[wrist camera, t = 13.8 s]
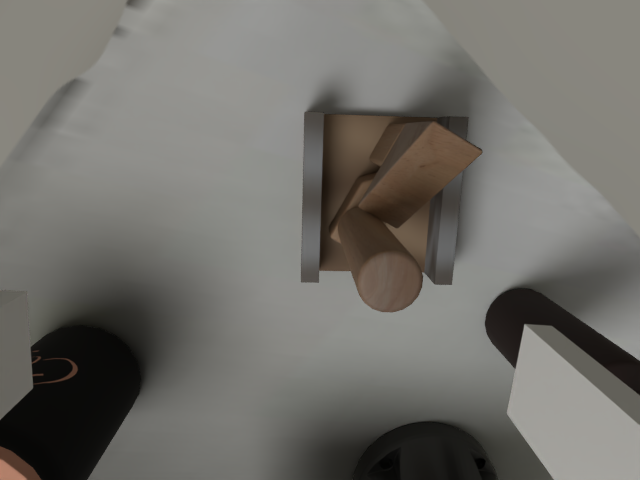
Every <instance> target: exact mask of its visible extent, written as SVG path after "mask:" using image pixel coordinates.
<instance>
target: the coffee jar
mask: <svg viewBox="0 0 640 480" xmlns="http://www.w3.org/2000/svg"><path fill="white" fill-rule="evenodd" d="M31 362H32V378H33V389H32V390H31V391H30V392H28V393H27V394H26V395H25V396H24V397H23V398H22V399H21V400H20V401H19V402H18V403H17V404H16V405H15V406H14V407H13V408H12V409H11V410H10V411H9V412H8V413H7V414H6V415H5V416H4V417H3V418H2V419H1V420H0V480H87V479H88V478H89V476H90V474H91V473H92V471H93V469H94V468H95V466H96V465H97V463H98V461H99V460H100V458H101V456H102V455H103V453H104V452H105V450H106V448H107V447H108V445H109V443H110V442H111V440H112V439H113V437H114V435H115V434H116V432H117V430H118V429H119V427H120V426H121V424H122V422H123V421H124V419H125V417H126V416H127V414H128V413H129V411H130V409H131V408H132V406H133V404H134V402H135V400H136V398H137V397H138V395H139V389H140V381H141V376H140V372H139V367H138V363H137V360H136V359H135V357H134V355H133V354H132V352H131V350H130V349H129V347H128V346H127V345H126V344H125V343H123V342H122V341H121V340H120V339H119V338H118V337H117V336H115V335H113V334H111V333H109V332H107V331H105V330H102V329H100V328H95V327H89V326H83V325H81V326H72V327H64V328H60V329H58V330H56V331H54V332H51V333H49V334H47V335H45V336H44V337H43V338H42V339H40V340H39V341H38V342H37V343H35V344H34V345H33V346H32V347H31Z"/></svg>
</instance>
